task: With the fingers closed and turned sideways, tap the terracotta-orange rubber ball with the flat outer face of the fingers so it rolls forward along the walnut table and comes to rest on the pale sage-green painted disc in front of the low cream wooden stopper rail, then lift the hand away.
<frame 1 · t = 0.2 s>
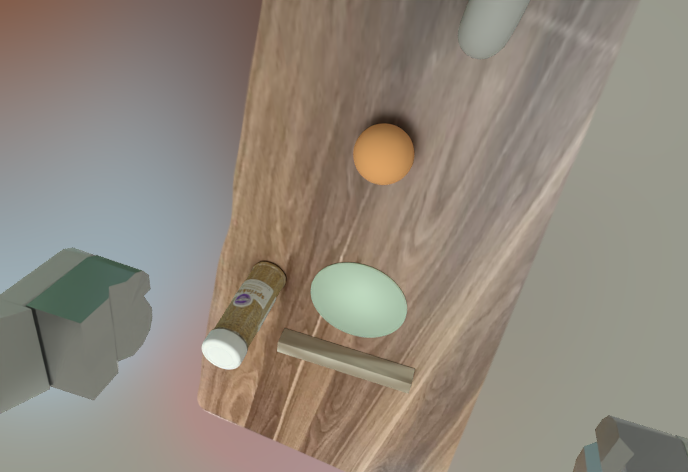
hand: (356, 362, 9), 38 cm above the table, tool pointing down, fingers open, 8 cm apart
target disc: (358, 301, 63), on the table
stopper rail: (347, 352, 69), on the table
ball: (383, 154, 47), on the table
sprinkles bottle: (270, 273, 65), on the table
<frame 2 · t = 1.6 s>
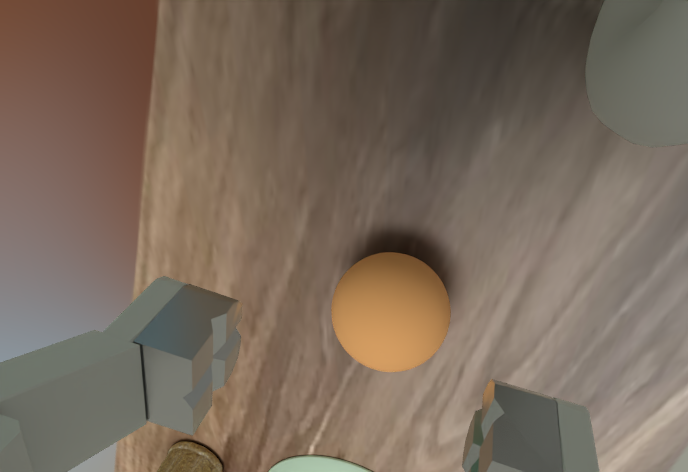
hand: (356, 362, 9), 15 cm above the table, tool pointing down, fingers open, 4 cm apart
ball: (390, 311, 24), on the table
sprinkles bottle: (198, 456, 40), on the table
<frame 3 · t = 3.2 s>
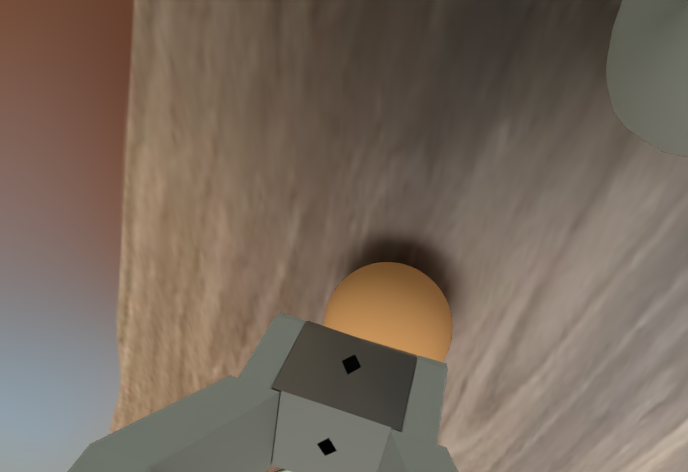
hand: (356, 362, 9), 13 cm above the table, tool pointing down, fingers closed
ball: (387, 325, 22), on the table
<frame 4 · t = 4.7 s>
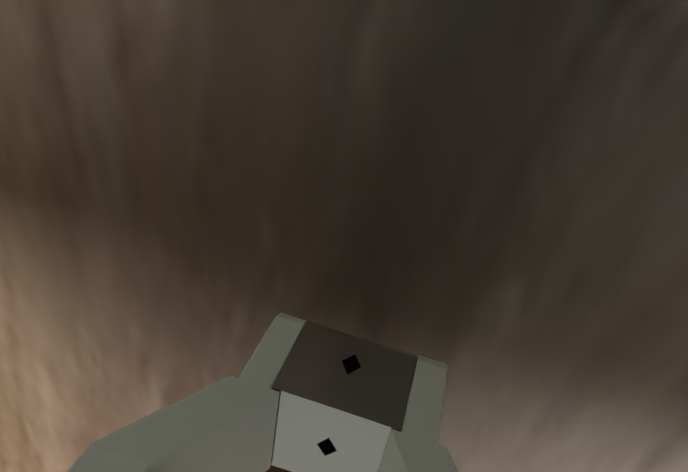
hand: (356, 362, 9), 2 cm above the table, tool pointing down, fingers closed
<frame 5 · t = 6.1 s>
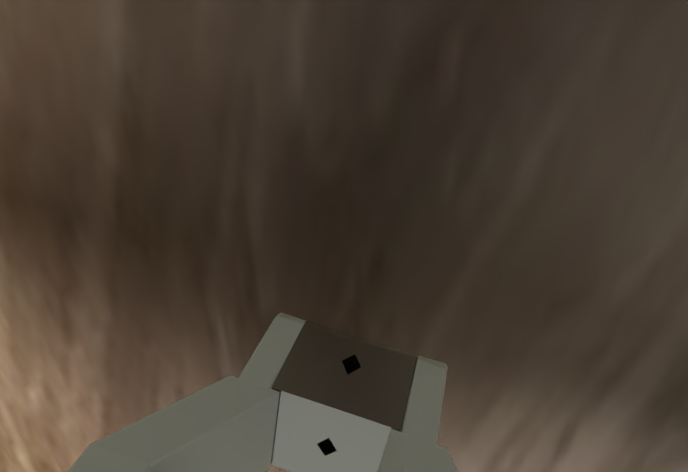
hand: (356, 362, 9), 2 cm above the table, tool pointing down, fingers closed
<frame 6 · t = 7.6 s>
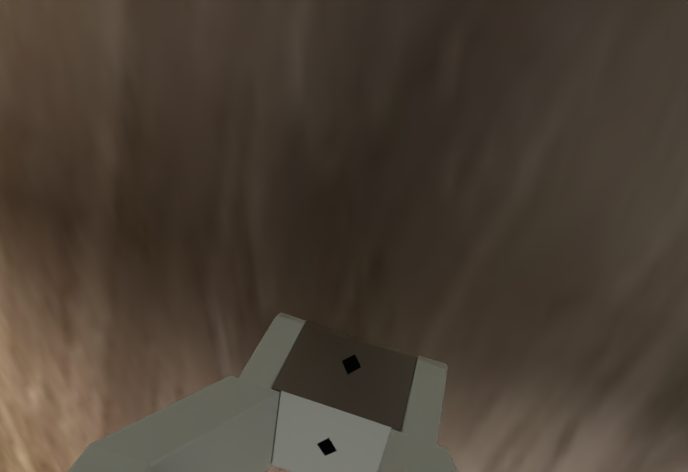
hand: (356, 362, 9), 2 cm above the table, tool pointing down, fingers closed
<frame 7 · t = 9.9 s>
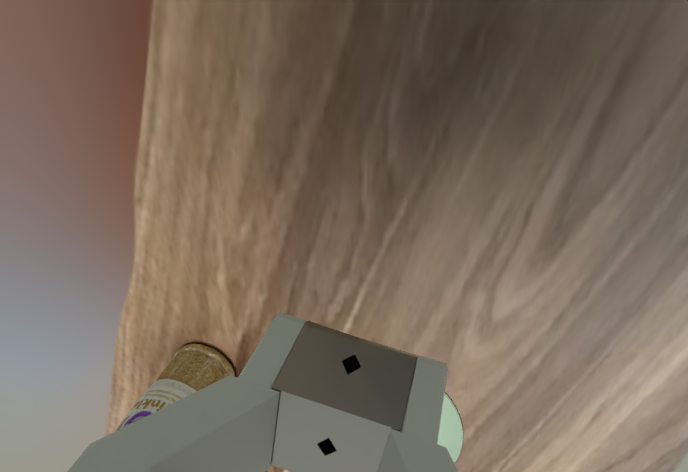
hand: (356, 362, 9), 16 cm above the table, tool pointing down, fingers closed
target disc: (368, 421, 34), on the table
sprinkles bottle: (207, 365, 36), on the table
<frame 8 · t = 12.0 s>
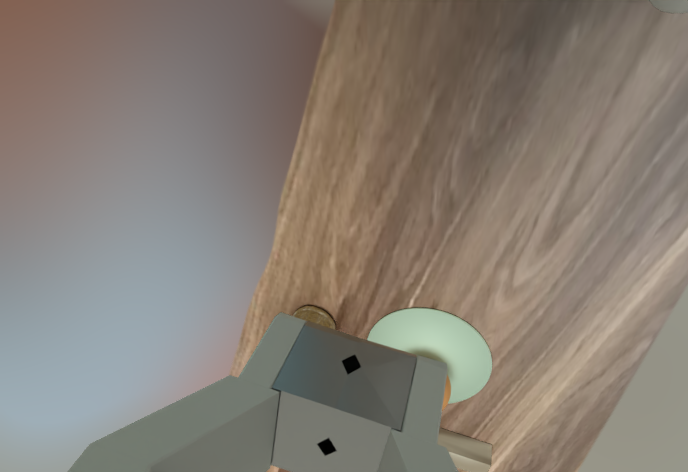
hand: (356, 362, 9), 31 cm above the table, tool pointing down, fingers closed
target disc: (427, 357, 50), on the table
stopper rail: (405, 423, 55), on the table
sprinkles bottle: (315, 321, 52), on the table
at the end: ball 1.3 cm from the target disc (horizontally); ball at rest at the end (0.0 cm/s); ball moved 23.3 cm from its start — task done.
